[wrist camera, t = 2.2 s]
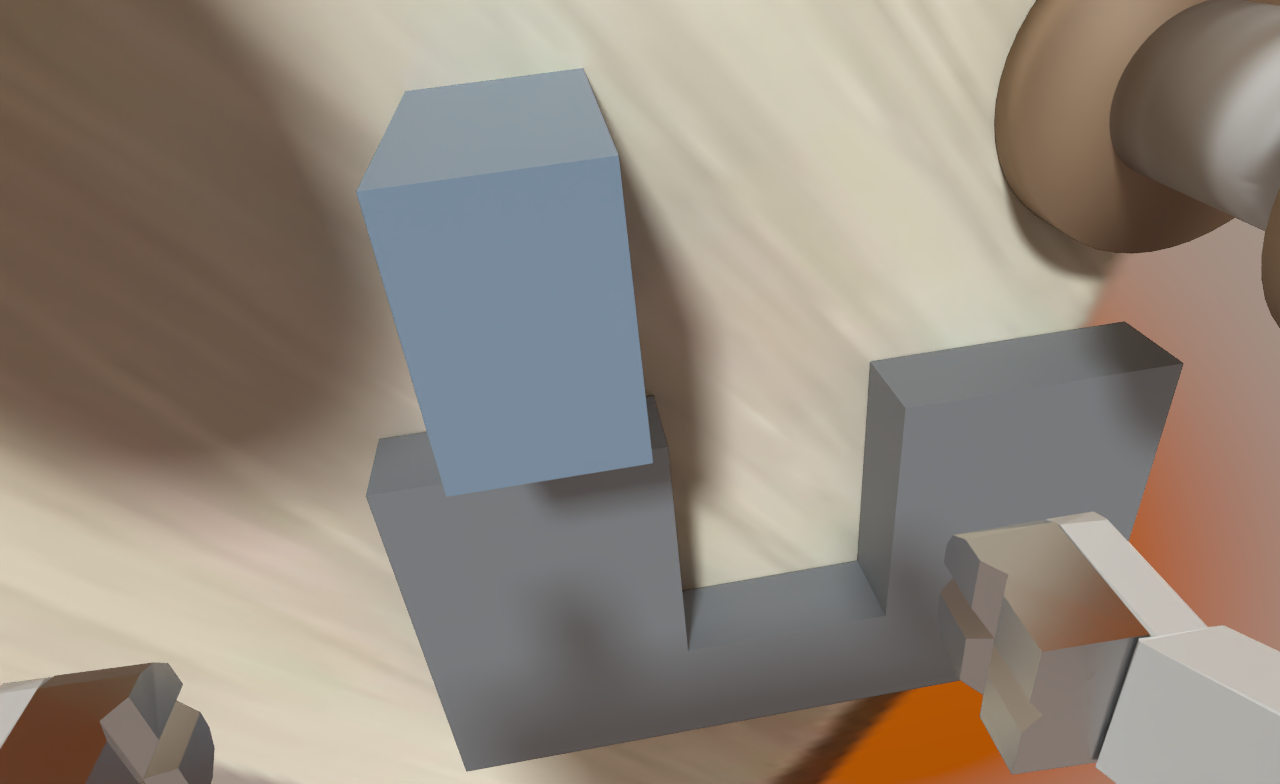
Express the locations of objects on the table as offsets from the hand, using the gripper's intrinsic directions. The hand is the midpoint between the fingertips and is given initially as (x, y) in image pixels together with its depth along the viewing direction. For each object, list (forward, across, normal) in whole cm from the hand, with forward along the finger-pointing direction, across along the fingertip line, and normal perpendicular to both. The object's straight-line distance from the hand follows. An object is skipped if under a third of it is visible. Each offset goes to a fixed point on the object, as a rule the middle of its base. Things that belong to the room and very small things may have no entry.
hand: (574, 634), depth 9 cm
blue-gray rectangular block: (+14, +1, 0) cm, 14 cm away
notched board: (+14, -5, +12) cm, 19 cm away
